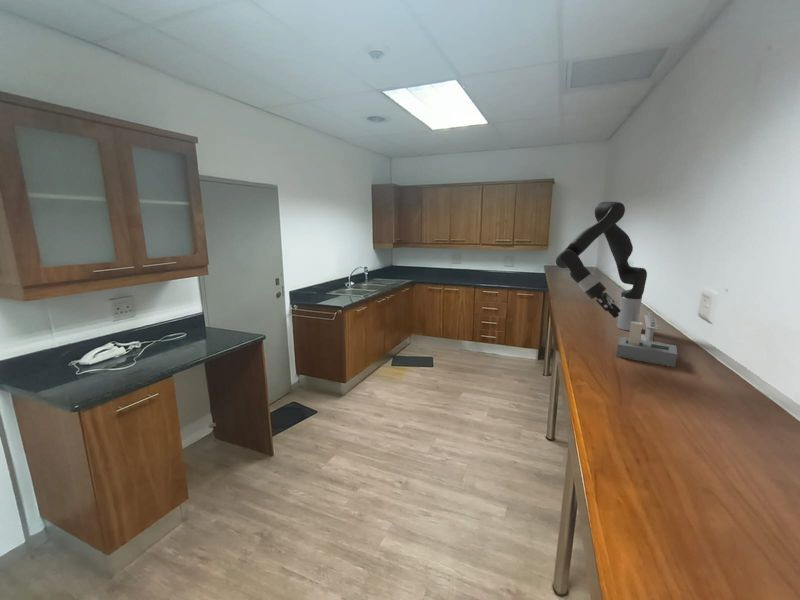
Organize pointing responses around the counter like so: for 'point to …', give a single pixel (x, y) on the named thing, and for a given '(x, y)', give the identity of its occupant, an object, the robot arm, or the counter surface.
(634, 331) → the cream rectangular block
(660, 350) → the grey two-slot holder
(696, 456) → the counter surface
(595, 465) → the counter surface
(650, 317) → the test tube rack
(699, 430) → the counter surface
